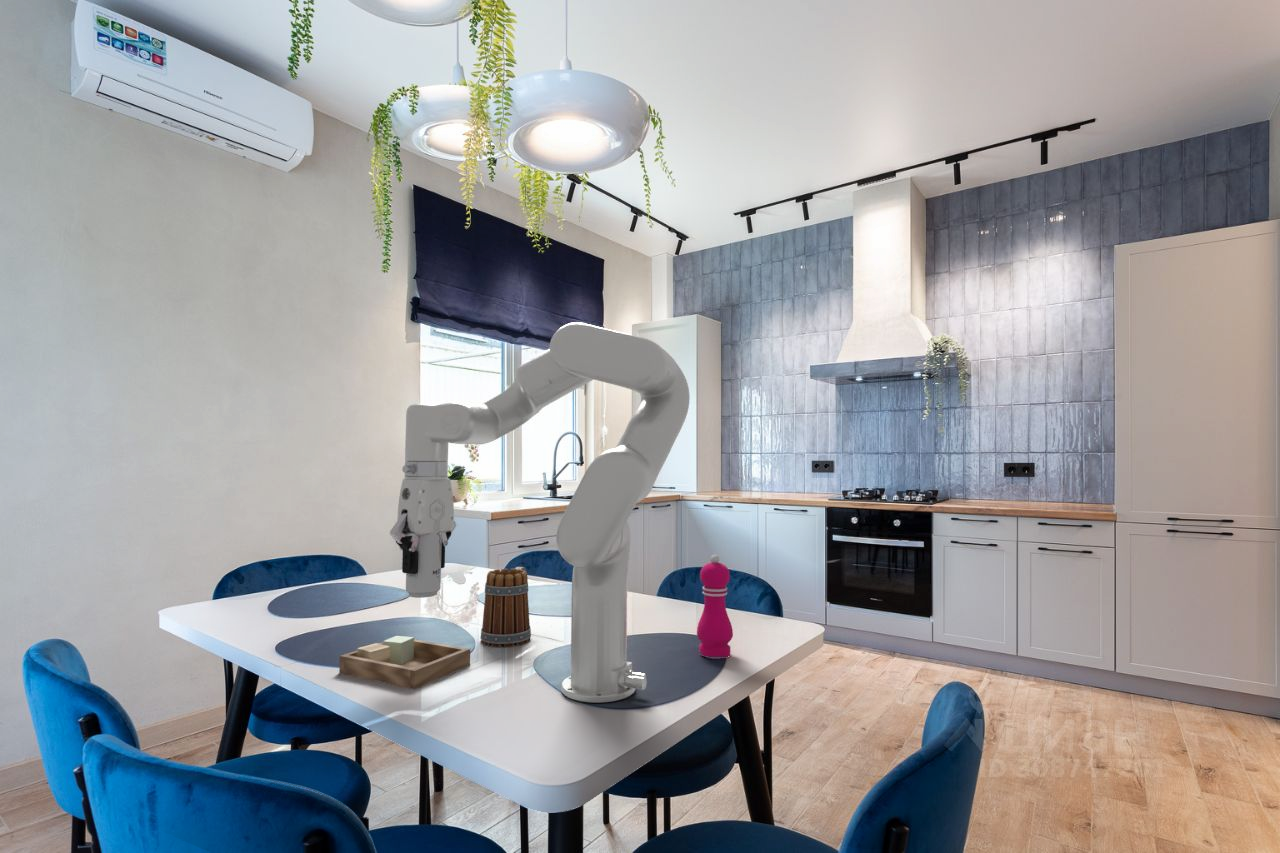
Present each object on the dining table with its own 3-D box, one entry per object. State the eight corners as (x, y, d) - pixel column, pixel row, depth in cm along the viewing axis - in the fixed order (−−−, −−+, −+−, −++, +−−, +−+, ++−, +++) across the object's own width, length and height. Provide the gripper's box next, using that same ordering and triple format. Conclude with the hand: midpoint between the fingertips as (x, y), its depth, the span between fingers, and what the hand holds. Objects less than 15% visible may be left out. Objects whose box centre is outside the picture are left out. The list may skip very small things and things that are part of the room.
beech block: (389, 668, 121) (390, 646, 122) (370, 674, 118) (370, 652, 118) (376, 664, 124) (376, 643, 124) (356, 670, 120) (357, 648, 121)
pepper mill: (715, 662, 128) (715, 558, 129) (689, 653, 134) (689, 554, 135) (740, 655, 133) (740, 555, 134) (714, 647, 138) (714, 551, 139)
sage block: (413, 658, 128) (414, 637, 128) (400, 664, 124) (401, 642, 124) (395, 656, 129) (396, 635, 129) (382, 662, 125) (383, 641, 125)
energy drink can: (441, 597, 119) (443, 513, 119) (406, 599, 116) (408, 513, 117) (438, 590, 124) (440, 510, 125) (404, 592, 122) (406, 510, 123)
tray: (470, 668, 124) (470, 648, 124) (414, 692, 111) (414, 670, 111) (398, 655, 132) (399, 636, 132) (339, 676, 119) (339, 655, 119)
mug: (519, 652, 134) (521, 577, 135) (471, 648, 136) (472, 575, 137) (546, 631, 150) (546, 565, 150) (502, 629, 152) (503, 563, 152)
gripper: (406, 472, 112) (403, 580, 111) (473, 470, 127) (471, 565, 127) (373, 471, 115) (370, 576, 114) (443, 470, 131) (441, 562, 130)
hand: (423, 569), depth 120 cm, fingers closed on energy drink can, 6 cm apart
